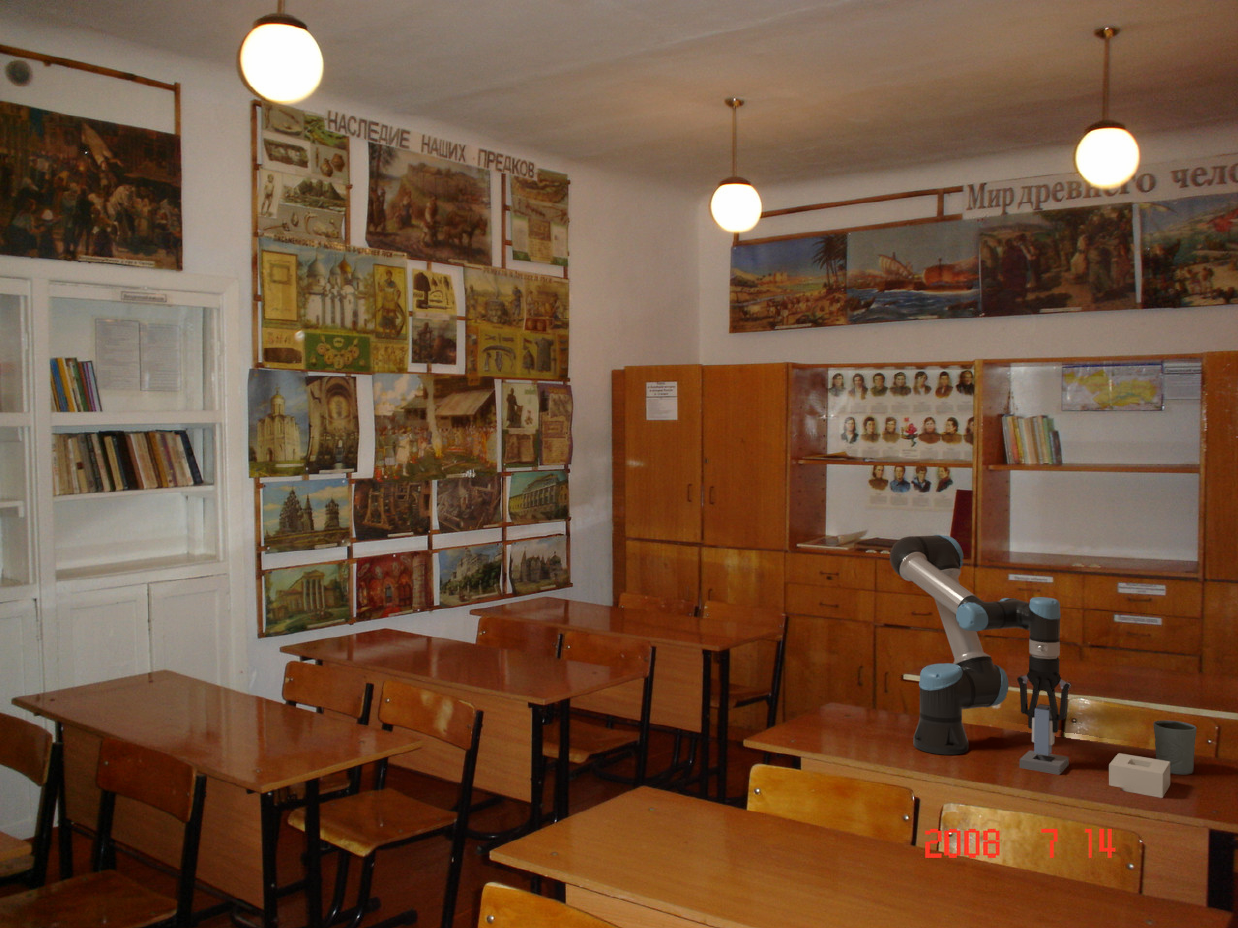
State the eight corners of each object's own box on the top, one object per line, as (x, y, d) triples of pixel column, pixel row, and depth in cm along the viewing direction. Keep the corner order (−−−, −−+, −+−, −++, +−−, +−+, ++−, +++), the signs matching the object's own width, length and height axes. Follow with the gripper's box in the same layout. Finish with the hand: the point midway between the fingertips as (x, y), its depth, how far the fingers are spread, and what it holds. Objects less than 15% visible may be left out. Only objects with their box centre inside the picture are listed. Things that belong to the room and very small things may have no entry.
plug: (1034, 752, 264) (1034, 705, 264) (1037, 749, 267) (1038, 702, 267) (1048, 755, 262) (1048, 707, 262) (1051, 752, 265) (1052, 705, 265)
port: (1108, 788, 249) (1109, 764, 249) (1118, 775, 259) (1118, 752, 259) (1162, 797, 242) (1162, 773, 242) (1170, 784, 251) (1170, 761, 251)
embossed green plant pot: (1155, 772, 261) (1155, 727, 261) (1150, 761, 271) (1151, 718, 270) (1199, 777, 257) (1199, 731, 257) (1193, 765, 267) (1193, 721, 267)
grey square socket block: (1019, 770, 263) (1019, 759, 263) (1029, 760, 271) (1029, 750, 271) (1059, 777, 257) (1059, 766, 257) (1068, 767, 265) (1068, 756, 265)
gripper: (1008, 654, 266) (1006, 739, 267) (1074, 662, 256) (1073, 751, 256) (1015, 649, 272) (1014, 733, 273) (1081, 657, 262) (1079, 744, 262)
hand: (1043, 742), depth 264 cm, fingers closed on plug, 4 cm apart
